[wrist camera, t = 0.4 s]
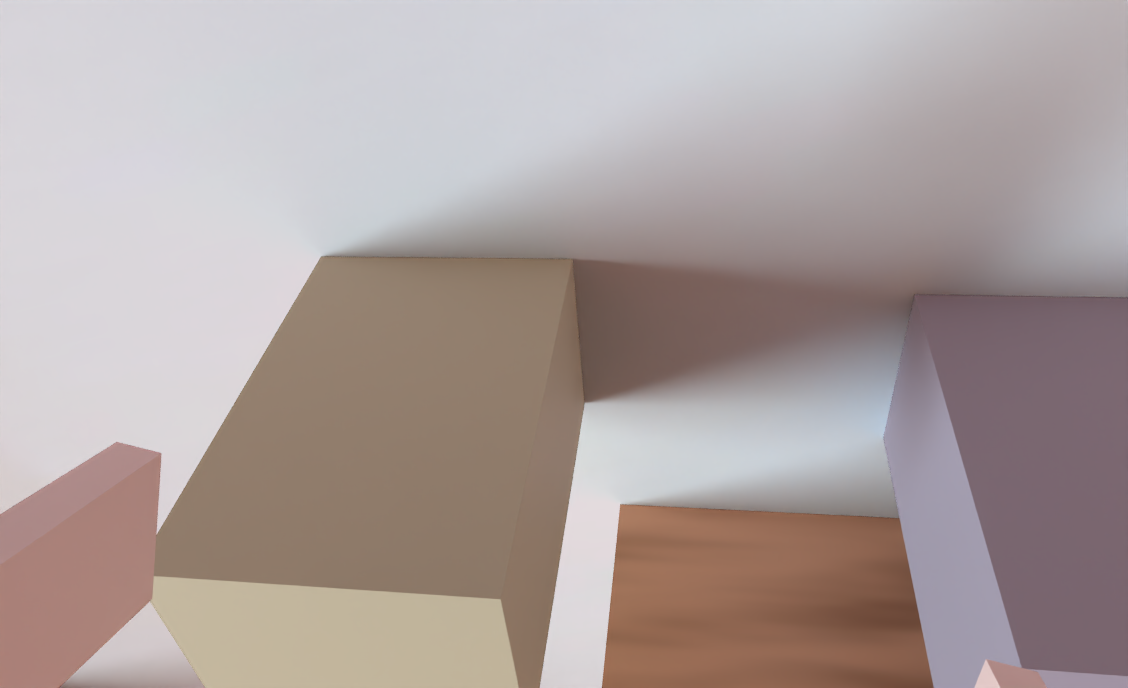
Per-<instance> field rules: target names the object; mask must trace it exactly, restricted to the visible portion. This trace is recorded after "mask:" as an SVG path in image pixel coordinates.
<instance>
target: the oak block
mask: <svg viewBox="0 0 1128 688" xmlns="http://www.w3.org/2000/svg"><path fill="white" fill-rule="evenodd" d="M602 688H934V686H933V681H932V676H931V671H930V666H929V662H928V657H927V652H926V647H925V642H924V637H923V632H922V627H921V622H920V617H919V612H918V607H917V602H916V597H915V592H914V587H913V582H912V577H911V572H910V567H909V562H908V557H907V552H906V547H905V543H904V538H903V533H902V528H901V523H900V518H884V517H864V516H844V515H823V514H803V513H783V512H762V511H742V510H722V509H702V508H681V507H661V506H641V505H620V513H619V523H618V533H617V543H616V553H615V563H614V573H613V583H612V593H611V603H610V613H609V623H608V633H607V643H606V653H605V663H604V673H603V683H602Z"/></svg>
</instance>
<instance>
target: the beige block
mask: <svg viewBox="0 0 1128 688" xmlns="http://www.w3.org/2000/svg"><path fill="white" fill-rule="evenodd" d="M584 403H585V402H584V390H583V378H582V366H581V354H580V342H579V330H578V318H577V306H576V294H575V282H574V270H573V259H533V258H429V257H321V258H320V259H319V261H318V263H317V265H316V266H315V268H314V270H313V271H312V273H311V275H310V276H309V278H308V280H307V281H306V283H305V285H304V287H303V288H302V290H301V292H300V293H299V295H298V297H297V298H296V300H295V302H294V303H293V305H292V307H291V309H290V310H289V312H288V314H287V315H286V317H285V319H284V320H283V322H282V324H281V325H280V327H279V329H278V331H277V332H276V334H275V336H274V337H273V339H272V341H271V342H270V344H269V346H268V347H267V349H266V351H265V353H264V354H263V356H262V358H261V359H260V361H259V363H258V364H257V366H256V368H255V369H254V371H253V373H252V375H251V376H250V378H249V380H248V381H247V383H246V385H245V386H244V388H243V390H242V391H241V393H240V395H239V397H238V398H237V400H236V402H235V403H234V405H233V407H232V408H231V410H230V412H229V413H228V415H227V417H226V419H225V420H224V422H223V424H222V425H221V427H220V429H219V430H218V432H217V434H216V435H215V437H214V439H213V441H212V442H211V444H210V446H209V447H208V449H207V451H206V452H205V454H204V456H203V457H202V459H201V461H200V463H199V464H198V466H197V468H196V469H195V471H194V473H193V474H192V476H191V478H190V479H189V481H188V483H187V485H186V486H185V488H184V490H183V491H182V493H181V495H180V496H179V498H178V500H177V501H176V503H175V505H174V507H173V508H172V510H171V512H170V513H169V515H168V517H167V518H166V520H165V522H164V523H163V525H162V527H161V529H160V530H159V532H158V534H157V535H156V547H155V563H154V579H153V595H152V600H151V601H150V602H151V603H152V605H153V607H154V608H155V610H156V611H157V613H158V614H159V616H160V618H161V619H162V621H163V622H164V624H165V626H166V627H167V629H168V630H169V632H170V633H171V635H172V637H173V638H174V640H175V641H176V643H177V644H178V646H179V648H180V649H181V651H182V652H183V654H184V655H185V657H186V659H187V660H188V662H189V663H190V665H191V666H192V668H193V670H194V671H195V673H196V674H197V676H198V677H199V679H200V681H201V682H202V684H203V685H204V687H205V688H539V687H540V681H541V674H542V668H543V662H544V655H545V649H546V643H547V637H548V630H549V624H550V618H551V611H552V605H553V599H554V592H555V586H556V580H557V574H558V567H559V561H560V555H561V548H562V542H563V536H564V529H565V523H566V517H567V511H568V504H569V498H570V492H571V485H572V479H573V473H574V466H575V460H576V454H577V448H578V441H579V435H580V429H581V422H582V416H583V410H584Z"/></svg>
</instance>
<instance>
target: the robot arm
mask: <svg viewBox="0 0 1128 688" xmlns="http://www.w3.org/2000/svg"><path fill="white" fill-rule="evenodd" d="M160 468H161V453H159V452H155V451H151V450H147V449H143V448H139V447H135V446H131V445H127V444H123V443H119V442H116V443H114V444H113V445H111V446H110V447H108V448H106V449H105V450H103V451H102V452H100V453H98V454H97V455H95V456H93V457H92V458H90V459H89V460H87V461H85V462H84V463H82V464H81V465H79V466H77V467H76V468H74V469H72V470H71V471H69V472H68V473H66V474H64V475H63V476H61V477H60V478H58V479H56V480H55V481H53V482H52V483H50V484H48V485H47V486H45V487H43V488H42V489H40V490H39V491H37V492H35V493H34V494H32V495H31V496H29V497H27V498H26V499H24V500H23V501H21V502H19V503H18V504H16V505H14V506H13V507H11V508H10V509H8V510H6V511H5V512H3V513H2V514H0V688H59V687H60V686H61V685H62V684H63V683H64V682H65V681H66V680H67V679H68V678H70V677H71V676H72V675H73V674H74V673H75V672H76V671H77V670H78V669H79V668H80V667H81V666H82V665H83V664H84V663H85V662H86V661H87V660H88V659H90V658H91V657H92V656H93V655H94V654H95V653H96V652H97V651H98V650H99V649H100V648H101V647H102V646H103V645H104V644H105V643H106V642H107V641H108V640H110V639H111V638H112V637H113V636H114V635H115V634H116V633H117V632H118V631H119V630H120V629H121V628H122V627H123V626H124V625H125V624H126V623H127V622H128V621H129V620H131V619H132V618H133V617H134V616H135V615H136V614H137V613H138V612H139V611H140V610H141V609H142V608H143V607H144V606H145V605H146V604H147V603H148V602H149V601H151V600H152V595H153V579H154V563H155V547H156V531H157V515H158V500H159V484H160ZM974 688H1047V687H1046V685H1045V683H1044V682H1043V680H1042V678H1041V677H1040V675H1039V673H1038V672H1036V671H1032V670H1028V669H1024V668H1020V667H1016V666H1012V665H1008V664H1004V663H1000V662H996V661H992V660H988V659H986V660H985V662H984V665H983V667H982V670H981V672H980V675H979V677H978V680H977V682H976V685H975V687H974Z"/></svg>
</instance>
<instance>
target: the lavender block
mask: <svg viewBox="0 0 1128 688" xmlns="http://www.w3.org/2000/svg"><path fill="white" fill-rule="evenodd" d="M883 438H884V443H885V448H886V453H887V458H888V463H889V468H890V473H891V478H892V483H893V488H894V493H895V498H896V503H897V508H898V513H899V518H900V523H901V528H902V533H903V538H904V543H905V547H906V552H907V557H908V562H909V567H910V572H911V577H912V582H913V587H914V592H915V597H916V602H917V607H918V612H919V617H920V622H921V627H922V632H923V637H924V642H925V647H926V652H927V657H928V662H929V666H930V671H931V676H932V681H933V686H934V688H974V687H975V685H976V682H977V680H978V677H979V675H980V672H981V670H982V667H983V665H984V662H985V660H986V659H988V660H992V661H996V662H1000V663H1004V664H1008V665H1012V666H1016V667H1020V668H1024V669H1028V670H1032V671H1036V672H1038V673H1039V675H1040V677H1041V678H1042V680H1043V682H1044V683H1045V685H1046V687H1047V688H1128V298H1119V297H1050V296H981V295H914V299H913V304H912V309H911V313H910V318H909V322H908V327H907V332H906V336H905V341H904V345H903V350H902V354H901V359H900V364H899V368H898V373H897V377H896V382H895V387H894V391H893V396H892V400H891V405H890V410H889V414H888V419H887V423H886V428H885V432H884V437H883Z"/></svg>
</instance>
